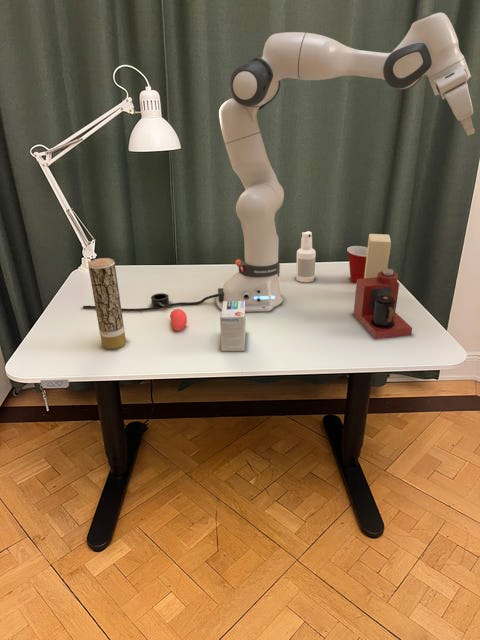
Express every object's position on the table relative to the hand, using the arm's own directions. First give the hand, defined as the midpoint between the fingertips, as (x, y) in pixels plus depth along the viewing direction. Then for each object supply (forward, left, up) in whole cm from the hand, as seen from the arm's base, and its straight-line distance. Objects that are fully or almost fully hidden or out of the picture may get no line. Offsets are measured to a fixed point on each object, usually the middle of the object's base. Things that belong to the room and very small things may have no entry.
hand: (469, 132), depth 124 cm
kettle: (-19, -3, -51) cm, 55 cm away
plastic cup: (-10, +36, -54) cm, 66 cm away
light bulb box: (-63, 0, -54) cm, 83 cm away
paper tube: (-97, +6, -54) cm, 111 cm away
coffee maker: (-18, +6, -54) cm, 57 cm away
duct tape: (-83, +30, -53) cm, 103 cm away
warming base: (-18, -2, -54) cm, 57 cm away
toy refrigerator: (-11, +21, -54) cm, 59 cm away
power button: (-15, +6, -41) cm, 44 cm away
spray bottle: (-29, +42, -54) cm, 75 cm away
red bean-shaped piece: (-78, +14, -54) cm, 96 cm away
